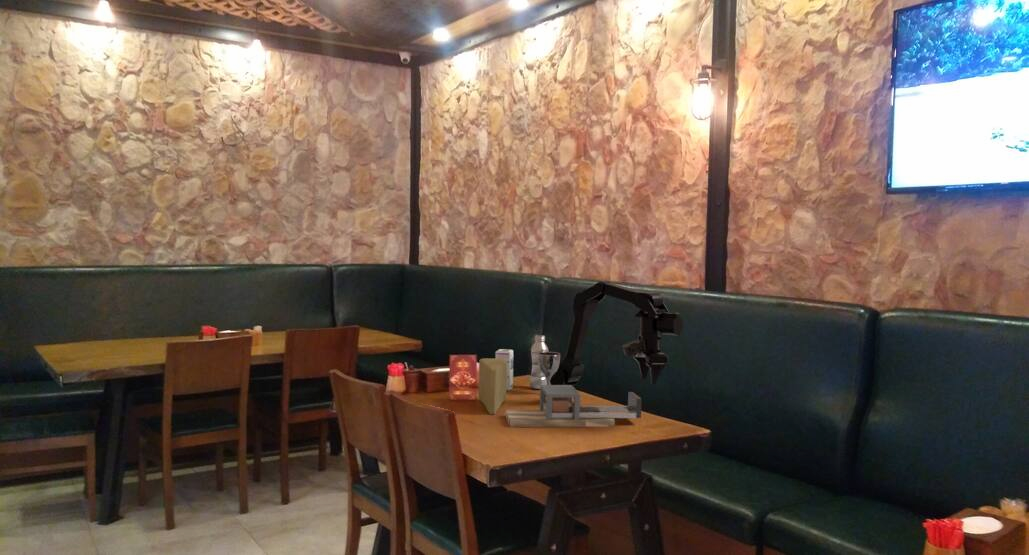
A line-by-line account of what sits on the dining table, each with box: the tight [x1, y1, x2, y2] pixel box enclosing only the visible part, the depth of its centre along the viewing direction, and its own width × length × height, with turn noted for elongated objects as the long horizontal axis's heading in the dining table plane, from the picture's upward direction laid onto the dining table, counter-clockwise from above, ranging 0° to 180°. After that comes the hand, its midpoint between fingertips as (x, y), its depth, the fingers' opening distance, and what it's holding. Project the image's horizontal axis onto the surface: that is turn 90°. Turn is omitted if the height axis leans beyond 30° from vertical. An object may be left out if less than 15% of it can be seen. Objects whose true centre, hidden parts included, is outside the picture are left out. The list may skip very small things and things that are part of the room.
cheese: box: [478, 357, 507, 415], centre depth 264 cm, size 22×10×15 cm, turn 2°
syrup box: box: [495, 348, 514, 392], centre depth 295 cm, size 6×6×14 cm
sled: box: [542, 391, 643, 419], centre depth 248 cm, size 10×29×6 cm, turn 97°
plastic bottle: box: [529, 334, 549, 390], centre depth 296 cm, size 6×7×20 cm
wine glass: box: [538, 351, 561, 396], centre depth 287 cm, size 8×8×15 cm
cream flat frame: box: [504, 409, 616, 428], centre depth 247 cm, size 14×32×2 cm, turn 97°
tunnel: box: [539, 384, 581, 420], centre depth 247 cm, size 14×10×8 cm
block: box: [552, 397, 569, 412], centre depth 247 cm, size 5×5×5 cm
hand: (648, 381), depth 249 cm, fingers open, 9 cm apart
